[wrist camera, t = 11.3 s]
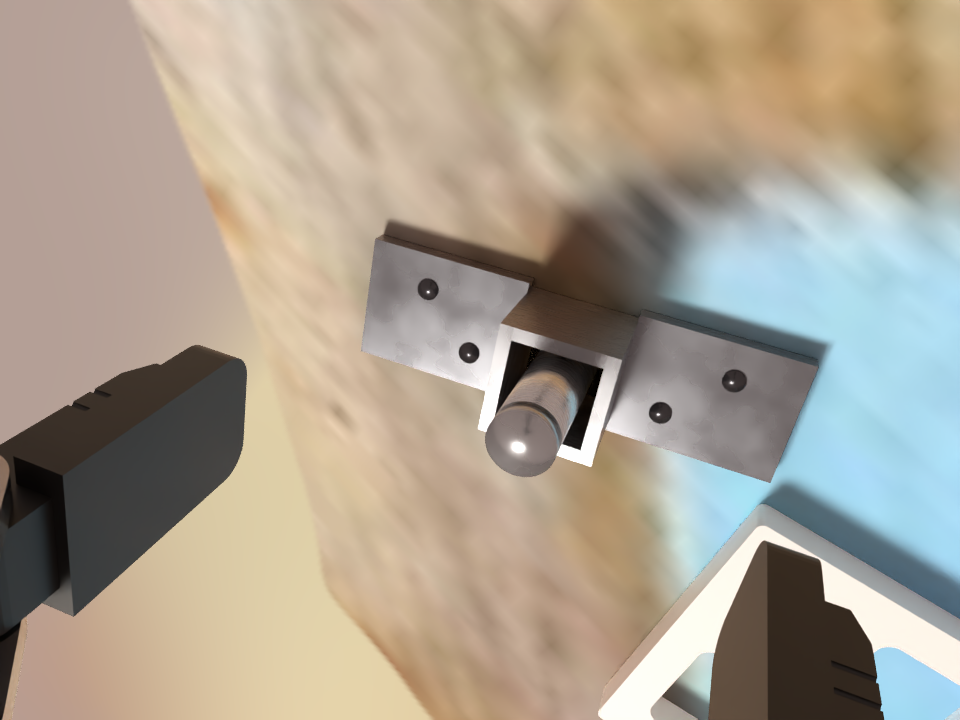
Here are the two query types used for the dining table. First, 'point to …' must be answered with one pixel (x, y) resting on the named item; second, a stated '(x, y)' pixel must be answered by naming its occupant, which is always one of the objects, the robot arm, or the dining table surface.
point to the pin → (538, 414)
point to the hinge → (587, 359)
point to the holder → (704, 605)
